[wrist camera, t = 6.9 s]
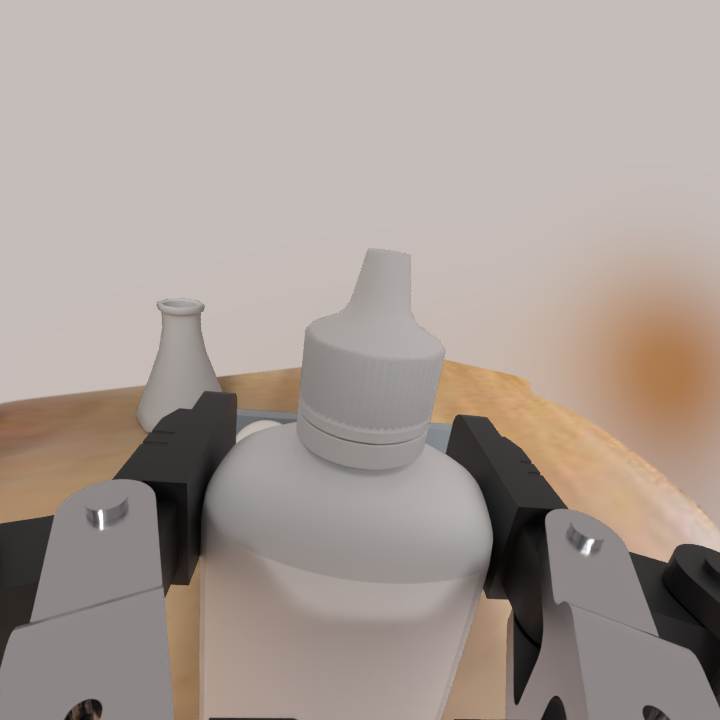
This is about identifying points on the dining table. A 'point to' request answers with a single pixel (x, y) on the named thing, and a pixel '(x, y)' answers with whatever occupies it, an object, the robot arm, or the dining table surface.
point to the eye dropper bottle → (344, 533)
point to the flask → (177, 364)
